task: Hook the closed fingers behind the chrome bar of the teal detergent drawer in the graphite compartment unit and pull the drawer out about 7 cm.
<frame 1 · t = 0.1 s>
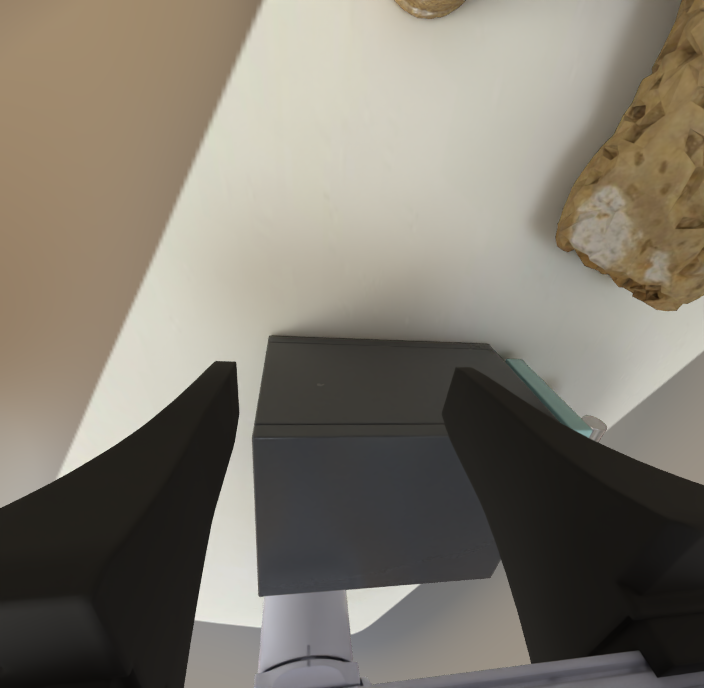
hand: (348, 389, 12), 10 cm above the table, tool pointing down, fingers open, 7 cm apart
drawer: (455, 458, 23), point 4 cm above the table, slide at 1.0 cm
tan lumpy rounded piece: (690, 68, 17), on the table
compartment: (371, 414, 26), on the table
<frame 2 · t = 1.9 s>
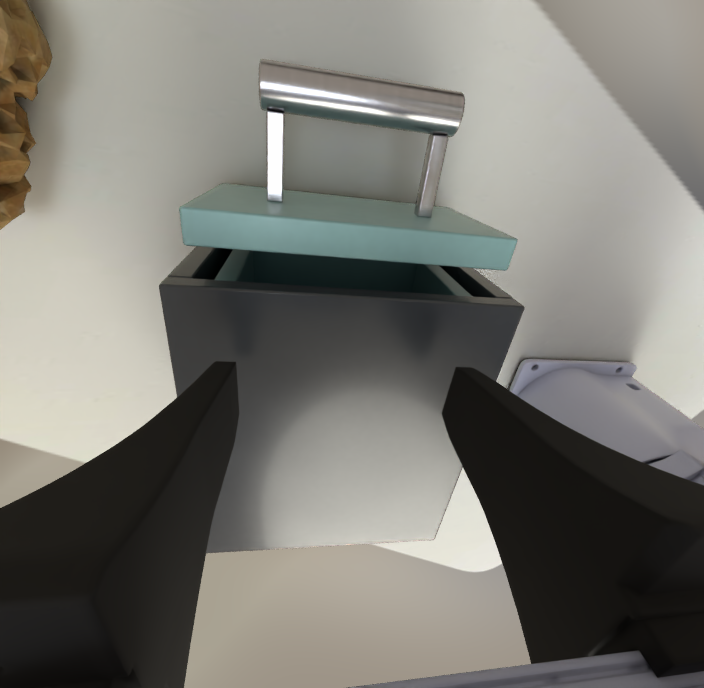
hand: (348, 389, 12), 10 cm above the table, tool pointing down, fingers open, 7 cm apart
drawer: (339, 308, 17), point 4 cm above the table, slide at 1.0 cm
compartment: (325, 350, 23), on the table
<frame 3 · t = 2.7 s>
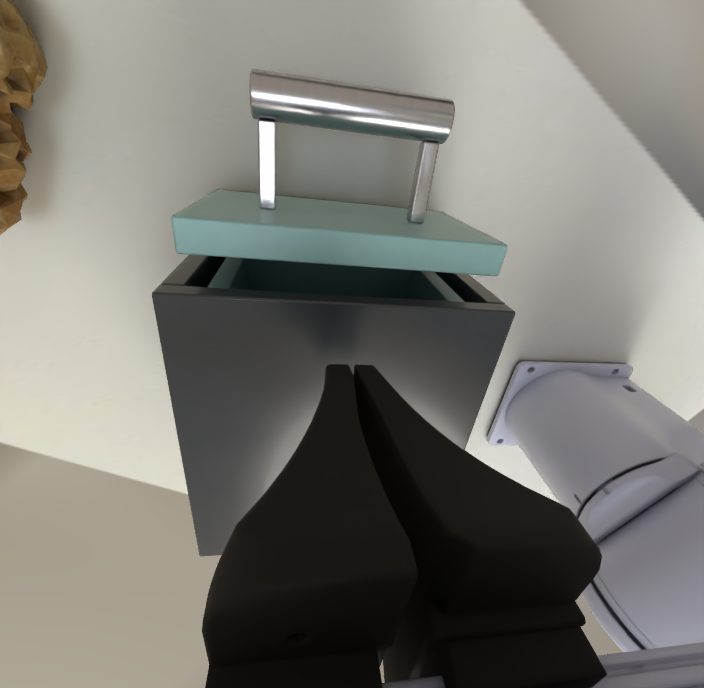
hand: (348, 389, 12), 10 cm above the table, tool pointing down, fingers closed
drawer: (333, 313, 17), point 4 cm above the table, slide at 1.0 cm
compartment: (322, 353, 23), on the table
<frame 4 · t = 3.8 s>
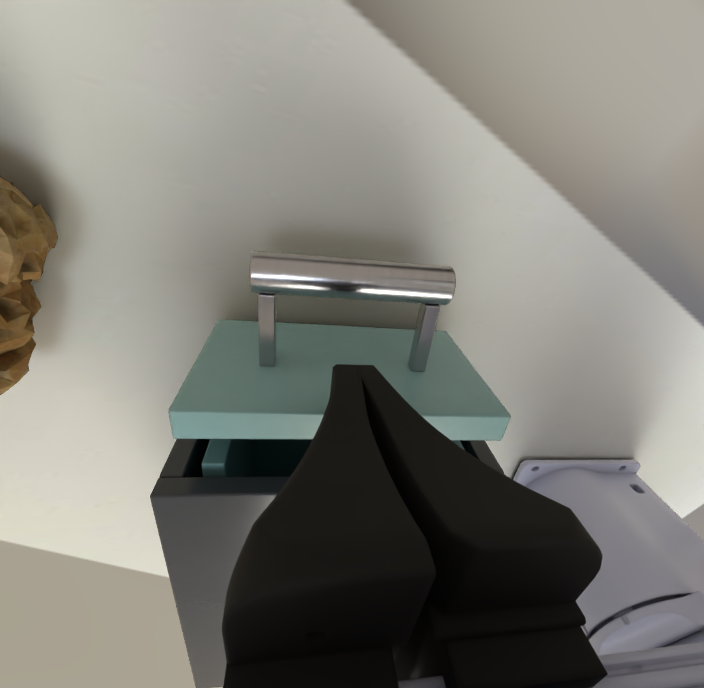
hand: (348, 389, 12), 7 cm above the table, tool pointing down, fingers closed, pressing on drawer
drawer: (334, 443, 17), point 4 cm above the table, slide at 1.5 cm, touching gripper
compartment: (323, 457, 23), on the table
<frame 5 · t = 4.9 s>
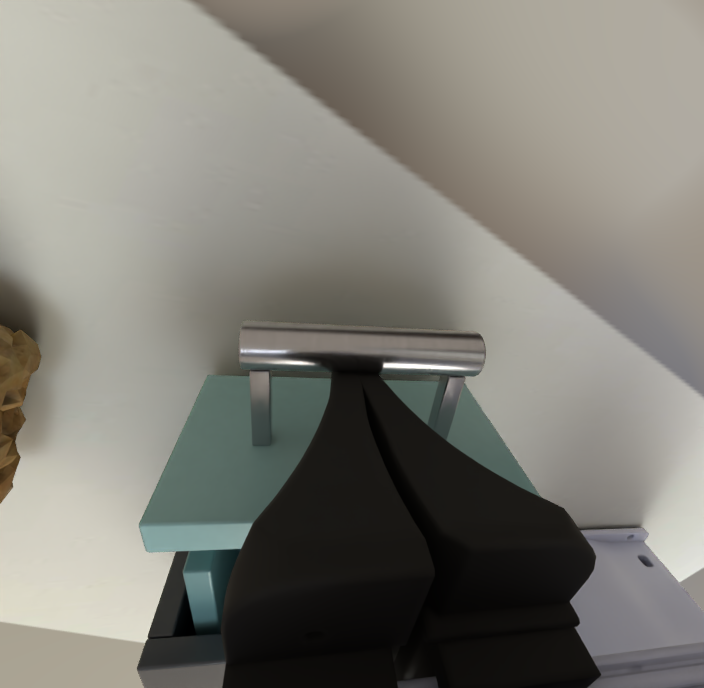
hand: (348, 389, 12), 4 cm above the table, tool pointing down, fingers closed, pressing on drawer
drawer: (338, 515, 15), point 4 cm above the table, slide at 4.2 cm, touching gripper
compartment: (322, 536, 22), on the table
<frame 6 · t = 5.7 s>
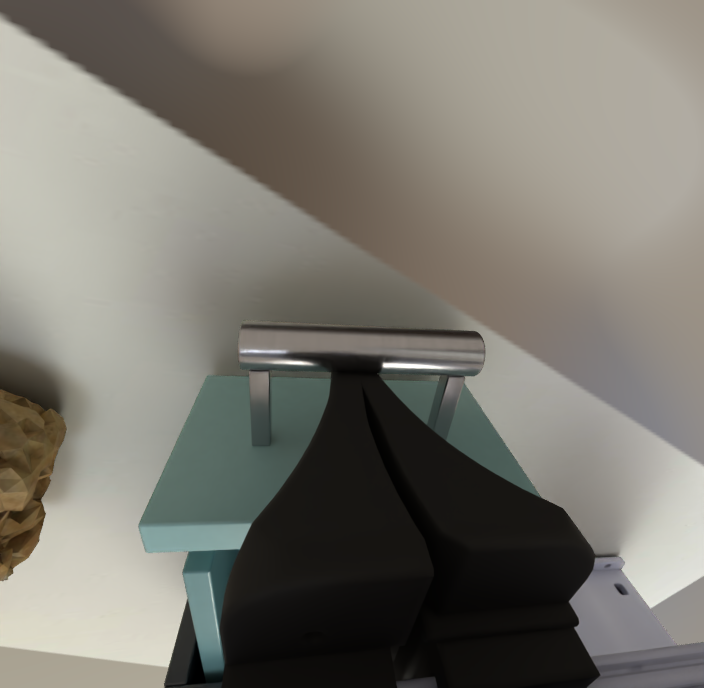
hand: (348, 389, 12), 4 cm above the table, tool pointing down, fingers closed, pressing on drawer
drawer: (338, 515, 15), point 4 cm above the table, slide at 7.8 cm, touching gripper
compartment: (319, 569, 24), on the table
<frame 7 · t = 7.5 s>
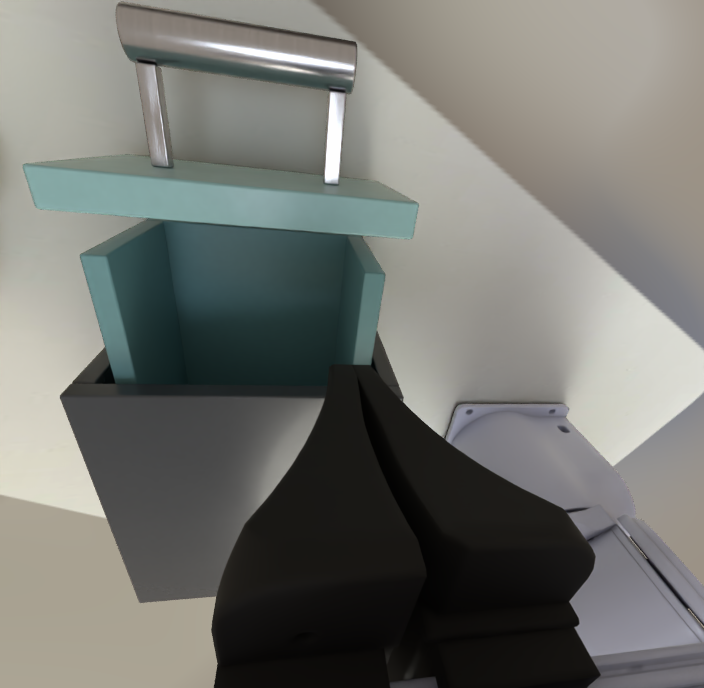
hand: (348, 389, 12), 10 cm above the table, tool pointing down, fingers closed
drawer: (255, 288, 16), point 4 cm above the table, slide at 6.1 cm
compartment: (266, 401, 24), on the table
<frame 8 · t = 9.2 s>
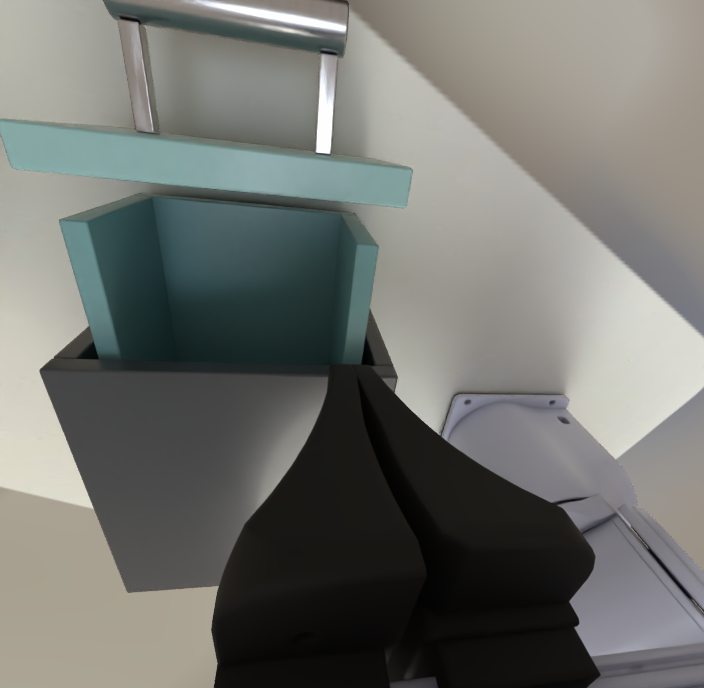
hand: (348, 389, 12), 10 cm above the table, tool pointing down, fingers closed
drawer: (245, 265, 15), point 4 cm above the table, slide at 6.1 cm
compartment: (260, 389, 24), on the table
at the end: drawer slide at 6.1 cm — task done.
